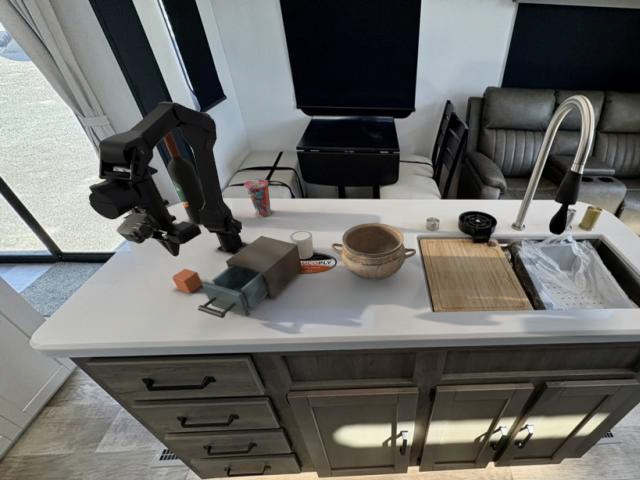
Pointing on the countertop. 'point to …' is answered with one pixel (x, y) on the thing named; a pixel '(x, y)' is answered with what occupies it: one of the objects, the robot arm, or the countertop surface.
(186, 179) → the wine bottle
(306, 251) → the white short cylinder
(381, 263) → the cooking pot
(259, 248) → the cabinet
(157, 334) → the countertop surface
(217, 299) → the drawer
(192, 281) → the block
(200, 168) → the robot arm
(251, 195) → the cup
